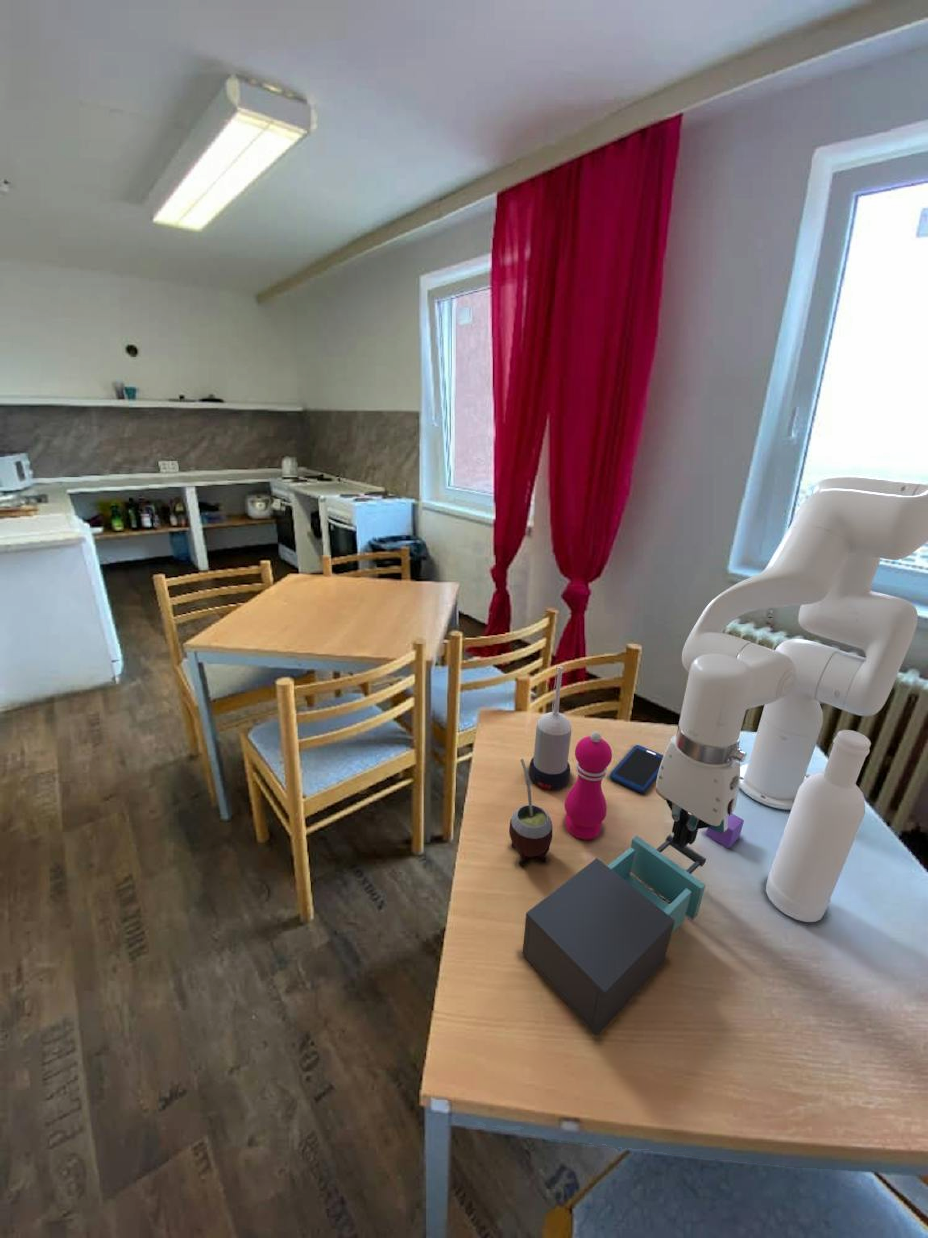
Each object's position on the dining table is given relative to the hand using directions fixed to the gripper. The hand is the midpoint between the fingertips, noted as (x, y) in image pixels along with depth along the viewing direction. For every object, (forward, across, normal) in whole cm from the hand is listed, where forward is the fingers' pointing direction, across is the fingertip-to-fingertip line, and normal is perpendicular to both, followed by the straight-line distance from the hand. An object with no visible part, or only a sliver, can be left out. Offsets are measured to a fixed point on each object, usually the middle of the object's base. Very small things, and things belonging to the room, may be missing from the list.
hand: (682, 841), depth 79 cm
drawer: (+8, 0, +7) cm, 11 cm away
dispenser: (+8, 0, +20) cm, 22 cm away
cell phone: (+9, +19, -20) cm, 29 cm away
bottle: (+9, -13, -12) cm, 20 cm away
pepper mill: (+9, +16, +2) cm, 19 cm away
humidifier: (+9, +29, -3) cm, 31 cm away
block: (+9, 0, -16) cm, 18 cm away
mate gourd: (+9, +18, +14) cm, 25 cm away
